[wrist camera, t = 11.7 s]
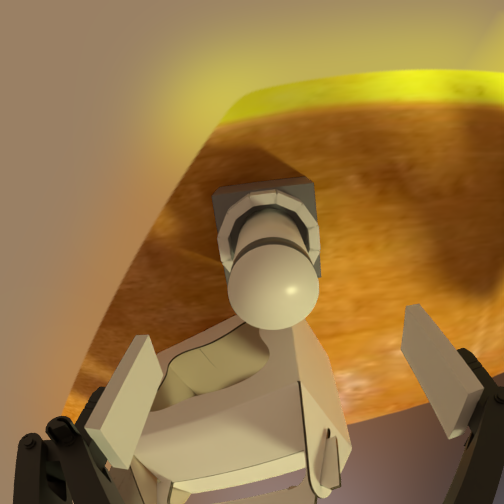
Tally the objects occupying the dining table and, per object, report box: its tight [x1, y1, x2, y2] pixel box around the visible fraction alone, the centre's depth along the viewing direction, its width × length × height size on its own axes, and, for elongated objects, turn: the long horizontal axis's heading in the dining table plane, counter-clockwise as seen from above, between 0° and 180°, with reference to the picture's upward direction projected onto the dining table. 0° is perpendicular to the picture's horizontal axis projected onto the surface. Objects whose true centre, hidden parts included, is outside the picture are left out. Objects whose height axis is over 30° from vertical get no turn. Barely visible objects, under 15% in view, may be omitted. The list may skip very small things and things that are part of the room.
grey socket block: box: [212, 176, 321, 287], centre depth 34 cm, size 10×10×8 cm
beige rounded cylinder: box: [228, 208, 319, 330], centre depth 27 cm, size 6×6×12 cm
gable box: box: [129, 315, 352, 504], centre depth 31 cm, size 22×13×28 cm, turn 122°
